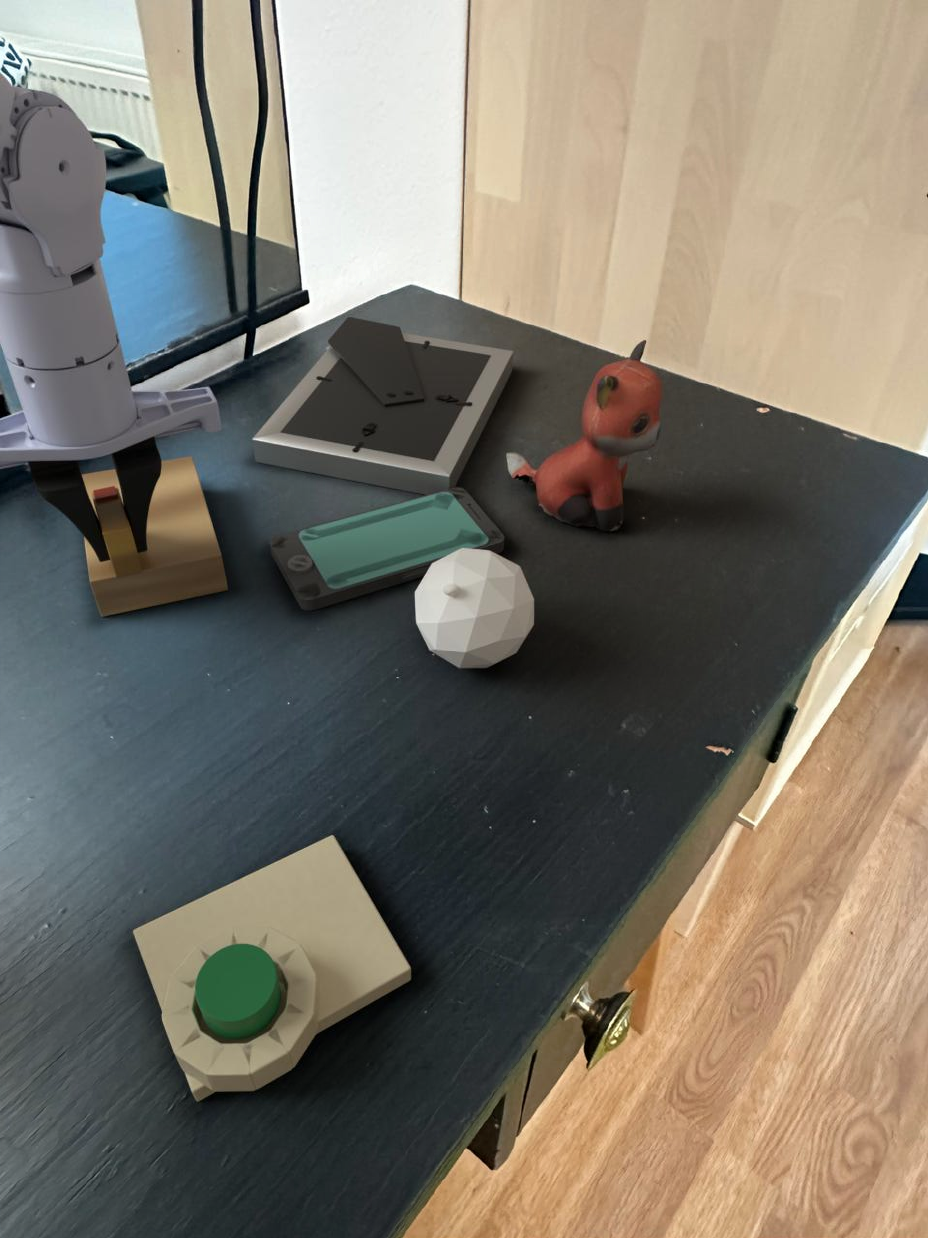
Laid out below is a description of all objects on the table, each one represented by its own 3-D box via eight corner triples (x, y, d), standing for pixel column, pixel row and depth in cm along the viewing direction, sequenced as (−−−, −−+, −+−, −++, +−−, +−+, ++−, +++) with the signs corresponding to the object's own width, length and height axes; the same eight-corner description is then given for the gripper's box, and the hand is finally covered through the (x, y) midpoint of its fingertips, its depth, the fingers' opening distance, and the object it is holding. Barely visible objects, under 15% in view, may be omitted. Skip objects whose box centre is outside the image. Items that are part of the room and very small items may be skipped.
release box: (206, 1133, 36) (193, 1107, 33) (136, 942, 41) (121, 910, 39) (425, 1004, 40) (426, 973, 38) (334, 847, 45) (330, 812, 43)
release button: (218, 1055, 35) (211, 1038, 34) (191, 986, 37) (183, 967, 36) (293, 1013, 36) (289, 995, 35) (263, 949, 38) (258, 929, 37)
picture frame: (349, 345, 84) (255, 462, 70) (348, 316, 82) (250, 430, 68) (511, 372, 82) (448, 499, 67) (514, 343, 80) (449, 467, 65)
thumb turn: (143, 572, 55) (129, 524, 53) (116, 579, 55) (101, 530, 52) (129, 530, 58) (116, 483, 56) (104, 536, 58) (89, 488, 55)
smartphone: (266, 535, 61) (461, 482, 66) (268, 550, 62) (461, 496, 67) (302, 601, 57) (509, 539, 62) (304, 616, 57) (508, 553, 63)
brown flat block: (228, 590, 59) (221, 555, 57) (101, 617, 57) (89, 581, 54) (199, 489, 67) (192, 455, 65) (86, 509, 65) (75, 474, 62)
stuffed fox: (517, 454, 72) (530, 311, 64) (653, 490, 69) (686, 344, 61) (483, 505, 67) (492, 356, 58) (628, 545, 64) (660, 395, 56)
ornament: (554, 670, 54) (516, 639, 47) (442, 685, 57) (389, 657, 50) (546, 562, 57) (508, 517, 49) (438, 580, 59) (386, 540, 52)
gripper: (184, 292, 52) (219, 486, 61) (-95, 334, 47) (-9, 538, 56) (214, 346, 47) (248, 546, 56) (-90, 398, 42) (1, 608, 52)
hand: (121, 547), depth 56 cm, fingers closed on thumb turn, 2 cm apart
